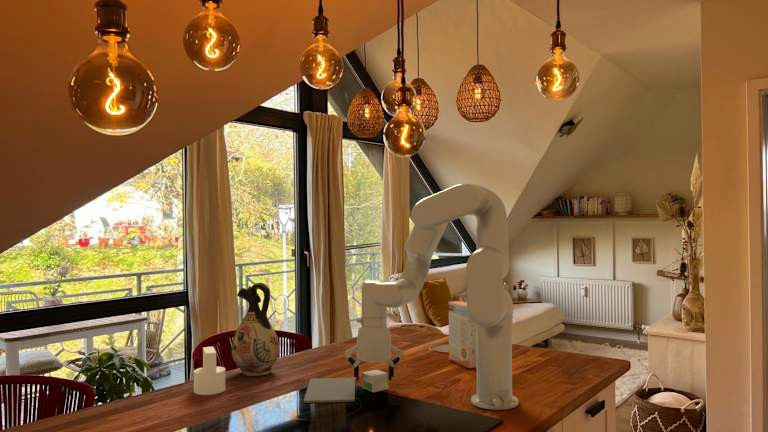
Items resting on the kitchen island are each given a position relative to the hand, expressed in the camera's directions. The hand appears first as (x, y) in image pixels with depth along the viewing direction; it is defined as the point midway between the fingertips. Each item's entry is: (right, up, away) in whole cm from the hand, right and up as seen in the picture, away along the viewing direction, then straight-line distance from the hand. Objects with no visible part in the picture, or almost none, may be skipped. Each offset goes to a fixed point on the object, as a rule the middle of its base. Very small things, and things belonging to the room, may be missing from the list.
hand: (373, 379), depth 174 cm
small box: (0, -3, 0) cm, 3 cm away
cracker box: (+31, -3, +28) cm, 42 cm away
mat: (-12, -3, -2) cm, 13 cm away
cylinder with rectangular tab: (-49, -3, 0) cm, 49 cm away
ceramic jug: (-38, -3, +18) cm, 43 cm away
